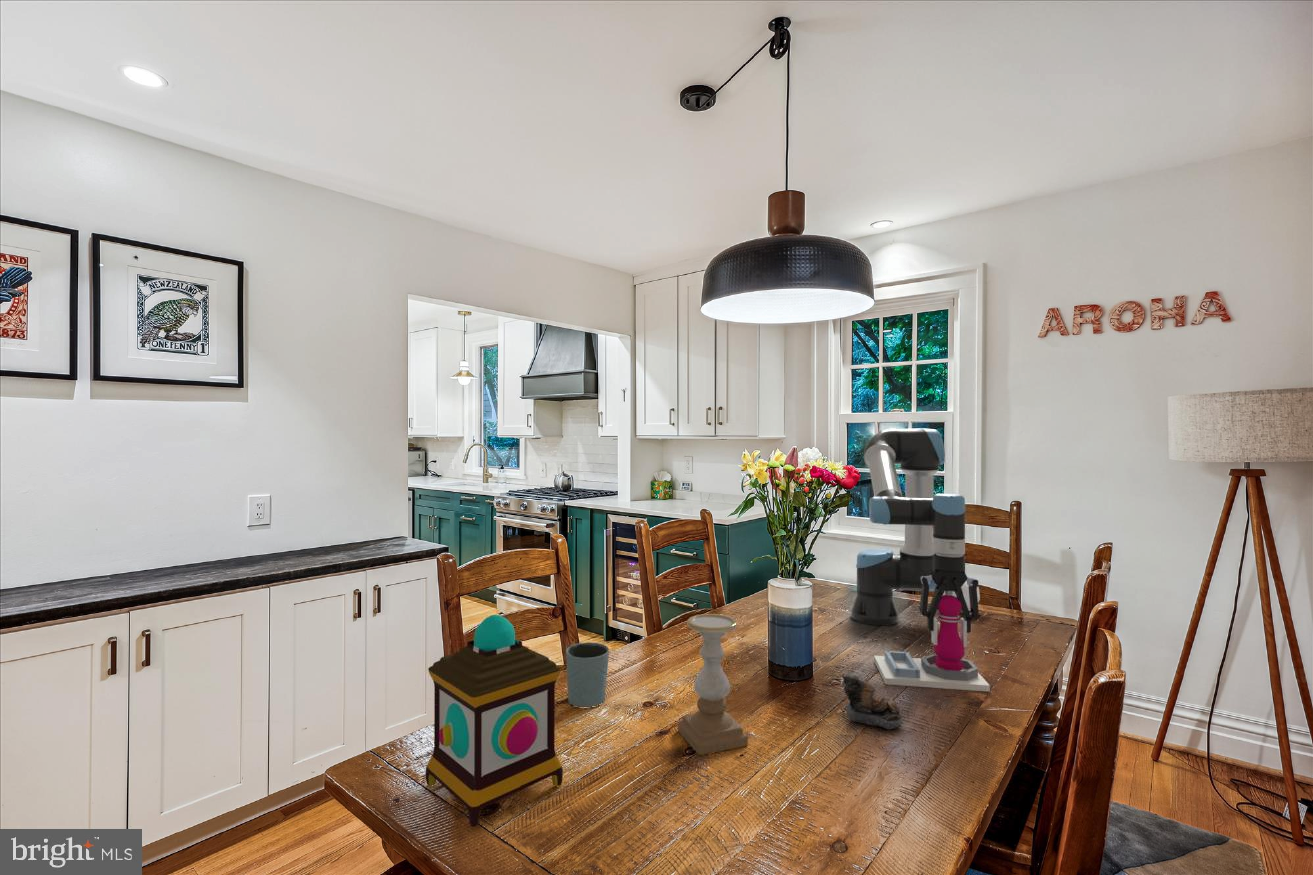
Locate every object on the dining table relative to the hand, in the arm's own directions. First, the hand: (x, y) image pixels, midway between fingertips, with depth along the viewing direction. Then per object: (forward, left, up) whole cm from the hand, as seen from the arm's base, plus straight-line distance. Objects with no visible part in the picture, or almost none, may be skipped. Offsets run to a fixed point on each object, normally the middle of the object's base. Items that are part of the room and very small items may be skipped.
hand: (948, 643), depth 154 cm
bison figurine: (+31, -24, -9) cm, 40 cm away
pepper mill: (0, 0, -6) cm, 6 cm away
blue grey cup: (+31, -87, -9) cm, 93 cm away
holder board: (0, -5, -8) cm, 10 cm away
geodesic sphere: (-64, +21, -9) cm, 68 cm away
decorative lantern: (+67, -93, -9) cm, 115 cm away
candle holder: (+43, -57, -9) cm, 72 cm away
